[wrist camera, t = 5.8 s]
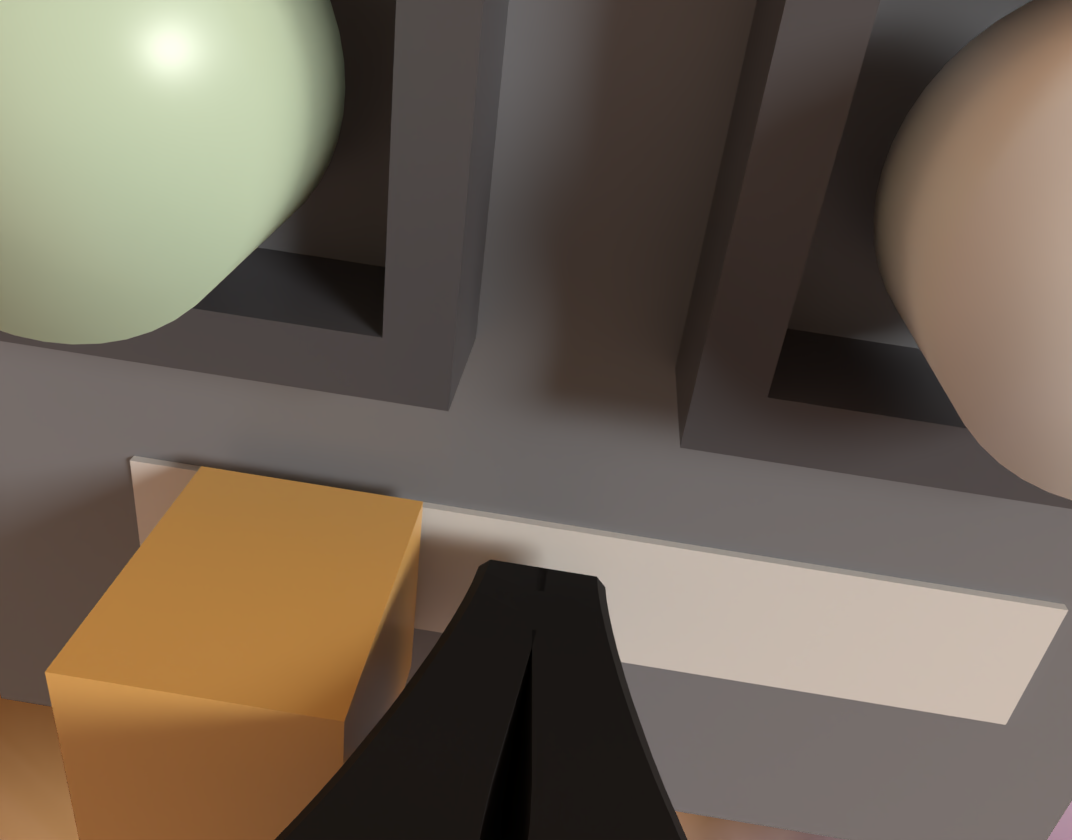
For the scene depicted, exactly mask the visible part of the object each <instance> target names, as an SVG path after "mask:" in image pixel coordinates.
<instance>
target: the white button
mask: <svg viewBox="0 0 1072 840" xmlns="http://www.w3.org/2000/svg"><path fill="white" fill-rule="evenodd" d="M874 246H875V251H876V256H877V262H878V267H879V271H880V274H881V276H882V279H883V282H884V285H885V288H886V290H887V292H888V294H889V296H890V298H891V300H892V302H893V304H894V305H895V307H896V309H897V311H898V313H899V314H900V316H901V318H902V319H903V321H904V323H905V325H906V326H907V328H908V330H909V331H910V333H911V335H912V336H913V338H914V340H915V342H916V343H917V345H918V347H919V348H920V350H921V352H922V353H923V355H924V357H925V359H926V360H927V362H928V364H929V365H930V367H931V369H932V370H933V372H934V374H935V376H936V377H937V379H938V381H939V382H940V384H941V386H942V387H943V389H944V391H945V393H946V394H947V396H948V398H949V399H950V401H951V403H952V404H953V406H954V408H955V410H956V411H957V413H958V415H959V416H960V418H961V420H962V422H963V423H964V425H965V426H966V427H967V429H968V430H969V431H970V433H971V434H972V435H973V436H974V438H975V439H976V440H977V442H978V443H979V444H980V446H982V447H983V448H984V449H985V450H986V451H987V452H988V453H989V454H990V455H991V456H992V457H993V458H994V459H995V460H996V461H997V462H998V463H1000V464H1001V465H1002V466H1004V467H1005V468H1007V469H1008V470H1010V471H1011V472H1012V473H1014V474H1015V475H1017V476H1018V477H1020V478H1021V479H1023V480H1025V481H1027V482H1029V483H1031V484H1033V485H1035V486H1037V487H1039V488H1041V489H1043V490H1045V491H1047V492H1049V493H1052V494H1055V495H1058V496H1061V497H1064V498H1066V499H1069V500H1072V0H1033V1H1031V2H1029V3H1026V4H1025V5H1023V6H1021V7H1020V8H1018V9H1016V10H1015V11H1013V12H1011V13H1010V14H1008V15H1006V16H1005V17H1003V18H1001V19H1000V20H998V21H996V22H995V23H994V24H992V25H991V26H990V27H988V28H987V29H986V30H984V31H983V32H982V33H980V34H979V35H978V36H976V37H975V38H974V39H973V40H971V41H970V42H969V43H968V44H967V45H966V46H964V47H963V48H962V49H961V50H960V51H959V52H958V53H957V54H956V55H955V56H954V57H953V58H952V59H951V60H950V61H949V62H947V63H946V64H945V65H944V67H943V68H942V69H941V70H940V71H939V72H938V74H937V75H936V76H935V77H934V78H933V79H932V81H931V82H930V83H929V84H928V85H927V86H926V88H925V89H924V90H923V92H922V93H921V95H920V96H919V98H918V99H917V100H916V102H915V103H914V105H913V106H912V108H911V109H910V111H909V112H908V114H907V115H906V117H905V119H904V121H903V123H902V125H901V127H900V129H899V131H898V132H897V134H896V136H895V138H894V140H893V142H892V145H891V147H890V150H889V153H888V155H887V158H886V161H885V163H884V166H883V169H882V173H881V177H880V181H879V185H878V189H877V193H876V201H875V211H874Z"/></svg>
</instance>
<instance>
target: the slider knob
mask: <svg viewBox="0 0 1072 840" xmlns="http://www.w3.org/2000/svg"><path fill="white" fill-rule="evenodd" d="M422 511H423V501H417V500H410V499H404V498H398V497H392V496H385V495H379V494H373V493H367V492H360V491H354V490H348V489H341V488H335V487H329V486H323V485H316V484H310V483H304V482H298V481H291V480H285V479H279V478H273V477H266V476H260V475H254V474H248V473H241V472H235V471H229V470H222V469H216V468H210V467H204V466H201V467H200V468H199V470H198V471H197V472H196V474H195V475H194V476H193V478H192V479H191V480H190V482H189V483H188V484H187V485H186V487H185V488H184V489H183V491H182V492H181V493H180V495H179V496H178V497H177V499H176V500H175V501H174V503H173V504H172V505H171V507H170V508H169V509H168V510H167V512H166V513H165V514H164V516H163V517H162V518H161V520H160V521H159V522H158V524H157V525H156V526H155V528H154V529H153V530H152V532H151V533H150V534H149V535H148V537H147V538H146V539H145V541H144V542H143V543H142V545H141V546H140V547H139V549H138V550H137V551H136V553H135V554H134V555H133V557H132V558H131V559H130V560H129V562H128V563H127V564H126V566H125V567H124V568H123V570H122V571H121V572H120V574H119V575H118V576H117V578H116V579H115V580H114V582H113V583H112V584H111V585H110V587H109V588H108V589H107V591H106V592H105V593H104V595H103V596H102V597H101V599H100V600H99V601H98V603H97V604H96V605H95V607H94V608H93V609H92V610H91V612H90V613H89V614H88V616H87V617H86V618H85V620H84V621H83V622H82V624H81V625H80V626H79V628H78V629H77V630H76V632H75V633H74V634H73V635H72V637H71V638H70V639H69V641H68V642H67V643H66V645H65V646H64V647H63V649H62V650H61V651H60V653H59V654H58V655H57V657H56V658H55V659H54V660H53V662H52V663H51V664H50V666H49V667H48V668H47V670H46V671H45V675H46V680H47V685H48V690H49V695H50V700H51V704H52V709H53V714H54V719H55V724H56V729H57V734H58V739H59V744H60V748H61V753H62V758H63V763H64V768H65V773H66V778H67V783H68V787H69V792H70V797H71V802H72V807H73V812H74V817H75V822H76V827H77V831H78V836H79V840H274V839H275V838H276V837H277V836H278V835H279V834H280V833H281V832H282V831H283V830H284V829H285V828H286V827H287V826H288V825H289V824H290V823H291V822H292V821H293V820H294V819H295V818H296V817H297V816H298V815H299V813H300V812H301V811H302V810H303V809H304V808H305V807H306V806H307V805H308V804H309V803H310V802H311V800H312V799H313V798H314V797H315V796H316V795H317V794H318V793H319V792H320V791H321V789H322V788H323V787H324V786H325V785H326V784H327V783H328V782H329V780H330V779H331V778H332V777H333V776H334V775H335V774H336V773H337V771H338V770H339V769H340V768H341V767H342V766H343V764H344V763H345V762H346V761H347V759H348V758H349V757H350V756H351V755H352V753H353V752H354V751H355V750H356V748H357V747H358V746H359V745H360V744H361V742H362V741H363V740H364V739H365V738H366V736H367V735H368V734H369V733H370V731H371V730H372V729H373V728H374V727H375V725H376V724H377V723H378V722H379V720H380V719H381V718H382V717H383V716H384V714H385V713H386V712H387V711H388V709H389V708H390V707H391V705H392V704H393V703H394V702H395V700H396V699H397V698H398V696H399V695H400V693H401V692H402V691H403V689H404V688H405V684H406V681H407V678H408V674H409V671H410V668H411V662H412V648H413V635H414V621H415V607H416V593H417V580H418V566H419V552H420V538H421V525H422Z"/></svg>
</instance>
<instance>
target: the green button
mask: <svg viewBox="0 0 1072 840" xmlns="http://www.w3.org/2000/svg"><path fill="white" fill-rule="evenodd" d="M344 100H345V69H344V57H343V51H342V45H341V39H340V33H339V29H338V25H337V22H336V18H335V15H334V12H333V8H332V5H331V2H330V0H0V331H3V332H6V333H9V334H12V335H15V336H20V337H24V338H29V339H34V340H38V341H43V342H52V343H63V344H101V343H107V342H114V341H120V340H126V339H129V338H133V337H136V336H139V335H142V334H145V333H149V332H152V331H154V330H156V329H158V328H160V327H162V326H164V325H166V324H168V323H170V322H172V321H174V320H176V319H177V318H179V317H180V316H181V315H183V314H184V313H186V312H187V311H189V310H190V309H191V308H193V307H194V306H196V305H197V304H198V303H199V302H200V301H201V300H202V299H203V298H204V297H205V296H206V295H207V294H208V293H210V292H211V291H212V290H213V289H214V288H215V287H216V286H217V285H218V284H219V283H220V282H221V281H222V280H223V279H224V278H225V277H227V276H228V275H229V274H230V273H231V272H232V271H233V270H234V269H235V268H236V267H237V266H238V265H239V264H240V263H241V262H242V261H243V260H245V259H246V258H247V257H248V256H249V255H250V254H251V253H252V252H253V251H254V250H255V249H256V248H257V247H258V246H259V245H260V244H262V243H263V242H264V241H265V240H266V239H267V238H268V237H269V236H270V235H271V234H272V233H273V232H274V231H275V230H276V229H277V228H279V227H280V226H281V225H282V224H283V223H284V222H285V221H286V220H287V219H288V218H289V217H290V216H291V215H292V214H293V213H294V212H295V211H296V210H297V209H298V208H299V207H300V206H301V205H302V204H303V203H304V202H305V201H306V200H307V199H308V197H309V196H310V195H311V193H312V192H313V191H314V189H315V188H316V186H317V185H318V184H319V182H320V180H321V178H322V176H323V175H324V173H325V171H326V169H327V167H328V165H329V163H330V161H331V158H332V155H333V152H334V150H335V147H336V144H337V141H338V138H339V133H340V128H341V123H342V119H343V112H344Z"/></svg>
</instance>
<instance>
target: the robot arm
mask: <svg viewBox="0 0 1072 840" xmlns="http://www.w3.org/2000/svg"><path fill="white" fill-rule="evenodd" d="M274 840H687V838H686V836H685V833H684V831H683V829H682V826H681V824H680V822H679V819H678V817H677V815H676V812H675V810H674V808H673V805H672V803H671V801H670V798H669V796H668V794H667V791H666V789H665V787H664V784H663V782H662V779H661V776H660V774H659V771H658V769H657V766H656V764H655V761H654V759H653V756H652V753H651V751H650V748H649V745H648V742H647V739H646V737H645V734H644V731H643V728H642V725H641V723H640V720H639V717H638V714H637V711H636V709H635V706H634V703H633V700H632V697H631V694H630V691H629V688H628V684H627V681H626V678H625V675H624V671H623V667H622V664H621V660H620V657H619V653H618V650H617V646H616V642H615V638H614V634H613V630H612V625H611V621H610V616H609V610H608V605H607V598H606V589H605V586H604V585H603V584H602V582H601V581H600V580H599V579H598V577H597V576H590V575H584V574H578V573H572V572H565V571H559V570H553V569H547V568H541V567H534V566H528V565H522V564H516V563H510V562H503V561H497V560H491V559H490V560H489V561H487V562H485V563H484V564H482V565H480V566H479V567H478V569H477V572H476V574H475V576H474V579H473V581H472V583H471V585H470V587H469V589H468V591H467V593H466V595H465V597H464V599H463V600H462V602H461V604H460V606H459V607H458V609H457V611H456V613H455V614H454V616H453V618H452V619H451V621H450V622H449V624H448V626H447V627H446V629H445V630H444V632H443V633H442V635H441V636H440V638H439V640H438V641H437V643H436V644H435V646H434V647H433V649H432V650H431V652H430V653H429V654H428V656H427V657H426V659H425V660H424V661H423V663H422V664H421V666H420V667H419V668H418V670H417V671H416V673H415V674H414V675H413V677H412V678H411V680H410V681H409V682H408V684H407V685H406V687H405V688H404V689H403V691H402V692H401V693H400V695H399V696H398V698H397V699H396V700H395V702H394V703H393V704H392V705H391V707H390V708H389V709H388V711H387V712H386V713H385V714H384V716H383V717H382V718H381V719H380V720H379V722H378V723H377V724H376V725H375V727H374V728H373V729H372V730H371V731H370V733H369V734H368V735H367V736H366V738H365V739H364V740H363V741H362V742H361V744H360V745H359V746H358V747H357V748H356V750H355V751H354V752H353V753H352V755H351V756H350V757H349V758H348V759H347V761H346V762H345V763H344V764H343V766H342V767H341V768H340V769H339V770H338V771H337V773H336V774H335V775H334V776H333V777H332V778H331V779H330V780H329V782H328V783H327V784H326V785H325V786H324V787H323V788H322V789H321V791H320V792H319V793H318V794H317V795H316V796H315V797H314V798H313V799H312V800H311V802H310V803H309V804H308V805H307V806H306V807H305V808H304V809H303V810H302V811H301V812H300V813H299V815H298V816H297V817H296V818H295V819H294V820H293V821H292V822H291V823H290V824H289V825H288V826H287V827H286V828H285V829H284V830H283V831H282V832H281V833H280V834H279V835H278V836H277V837H276V838H275V839H274Z"/></svg>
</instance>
